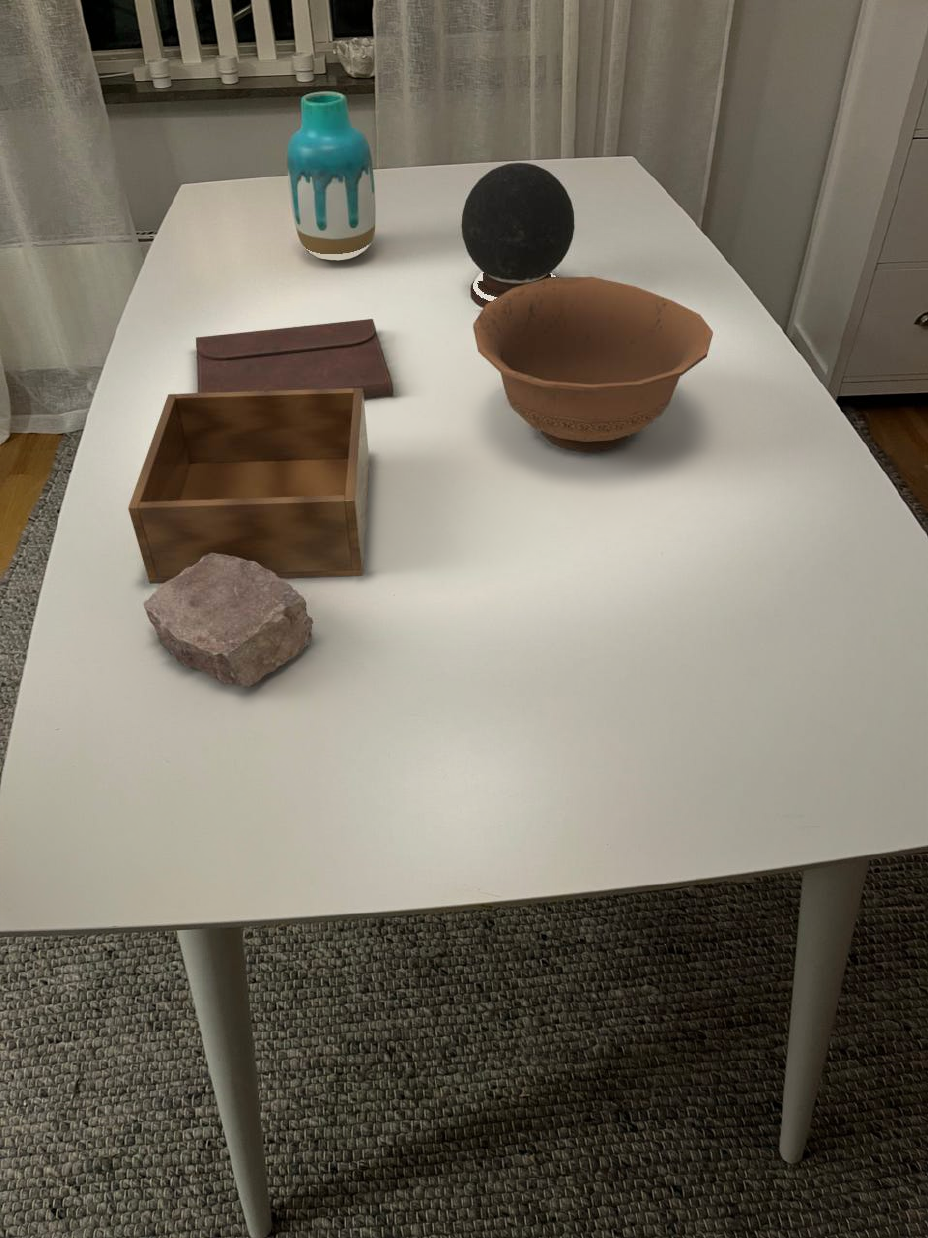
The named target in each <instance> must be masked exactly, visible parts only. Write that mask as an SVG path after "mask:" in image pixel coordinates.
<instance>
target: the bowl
mask: <svg viewBox="0 0 928 1238" xmlns="http://www.w3.org/2000/svg"><path fill="white" fill-rule="evenodd" d="M472 330H473V333H474V338H475V343H476V347H477V348H476V349H477V352H478V353H479V354H480V355H481V356H482V357H483V358H485V360H486V361H487V362H489V364H490V365H492V366H493V367H494V368H495V369H496V370H497V371H498V372H499V373H500V376H501V380H502V381H501V382H502V384H503V385H502V386H503V389H504V392H505V396H506V399H507V401H508V403H509V406H510V407H511V409H512V410H513V411H514V412H515V413H516V414H518V416H520V418H522V419H523V421H525V422H526V423H527V424H528V425H529V426H531V428H534V429H536V430H538V431H540V434H541V435H542V436H543V437H544V438H545V439H546V440H548V441H549V443H551V444H553V445H554V446H557V447H560V448H562V449H565V450H568V451H575V452H581V453H591V452H602V451H605V450H609V449H612V448H615V447H618V446H619V445H621V443H623V442H624V441H626V440H627V439H628V438H629V435H634V434H636V433H638V432H641V431H642V430H644V429H645V428H646V427H647V426H649V425H650V424H652V423H653V422H654V421H656V420H657V419H658V418H659V417H660V416H661V415H662V414H663V413H664V412H665V411H666V409H667V408H668V406H669V404H670V402H671V401H672V398H673V396H674V393H675V390H676V387H677V385H678V382H679V380H680V378H681V377H682V376H683V375H685V374H686V373H688V371H690V370H691V369H693V368H694V367H695V366H696V365H698V364H699V363H700V362H702V361H704V359H706V358H707V357H708V353H709V351H710V346H711V342H712V340H713V339H712V338H713V335H714V331H713V330H712V328H711V327H710V326H709V325H708V323H707V321H706V320H705V319H704V318H703V316H702V315H701V314H700V313H697V312H696V311H694V310H692V309H689V308H687V307H686V306H684V305H682V304H680V303H678V302H676V301H674V300H672V299H670V298H667V297H664V296H661V295H659V294H656V293H653V292H651V291H648V290H647V289H642V288H641V287H638V286H635V285H631V284H626V283H621V282H618V281H613V280H609V279H603V278H599V277H596V276H595V277H594V276H560V277H559V276H556V277H550V278H547V279H543V280H539V281H536V282H532V283H529V284H525V285H522V286H518V287H514V288H512V289H510V290H509V291H507V292H506V293H504V294H502V295H501V296H499V297H497V298H496V299H494V300H493V301H491V302H489V303H488V304H486V305H485V307H484V308H482V310H481V311H480V313H479V314H478V316H477V318H476V319H475V320H474V322H473V324H472Z"/></svg>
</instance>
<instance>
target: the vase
mask: <svg viewBox="0 0 928 1238" xmlns="http://www.w3.org/2000/svg"><path fill="white" fill-rule="evenodd" d="M300 106H301V107H300V108H301V109H300V110H301V126H300V129H298V130H297V131H296V132H294V133H293V134H292V135H291V136H290V138H289V141H288V144H287V152H286V153H287V154H286V162H287V163H286V165H287V178H288V179H287V180H288V188H289V196H290V204H291V211H292V215H293V220H294V225H295V229H296V233H297V237H298V240H299V242H300V243H301V245H302V246H303V248H304V247H305V248H306V249H308V250H310V251H312V252H316V253H320V254H343V253H350V252H354V251H357V250H360V249H362V248H364V247H366V246H367V245H369V244H370V243H371V242H373V240H374V237H375V234H376V233H375V232H376V214H377V213H376V206H377V205H376V189H375V188H376V186H375V175H374V165H373V159H372V153H371V148H370V144H369V142H368V140H367V137H366V135H365V134H364V133H363V132H362V131H361V129H358V128H357V127H355V126H353V125H352V123H351V120H350V115H349V108H348V101H347V97H346V96H345V94H343V93H341V92H337V91H316V92H311V93H307V94H305V95H303V96H302V97H301V100H300ZM371 244H372V243H371ZM305 248H304V249H305ZM306 249H305V250H306Z"/></svg>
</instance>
